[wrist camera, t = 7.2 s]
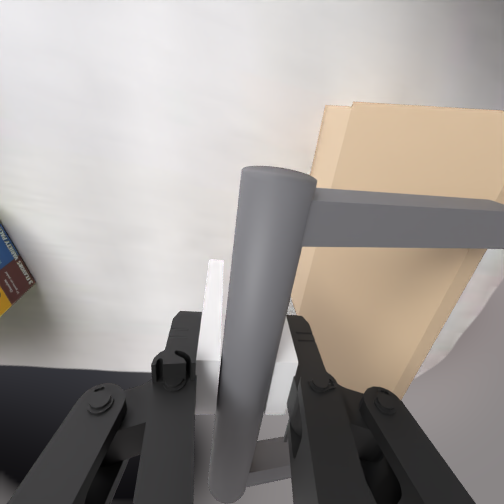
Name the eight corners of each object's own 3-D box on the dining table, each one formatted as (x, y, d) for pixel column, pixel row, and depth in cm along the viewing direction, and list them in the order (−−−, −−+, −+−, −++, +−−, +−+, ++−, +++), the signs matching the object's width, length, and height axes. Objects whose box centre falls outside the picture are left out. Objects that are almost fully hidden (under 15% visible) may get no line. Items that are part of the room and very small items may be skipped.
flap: (365, 103, 17) (206, 78, 15) (621, 120, 7) (267, 52, 5) (301, 335, 25) (194, 343, 23) (379, 488, 16) (207, 530, 13)
